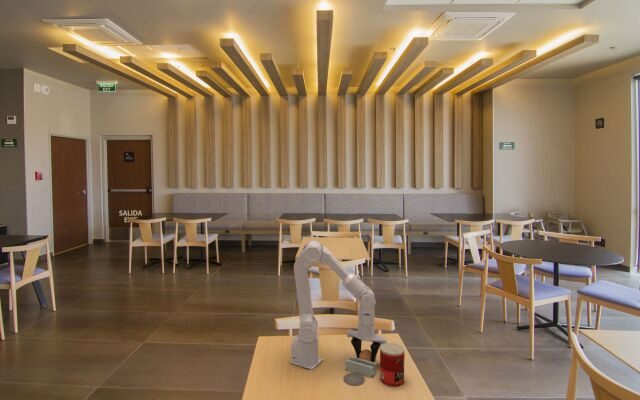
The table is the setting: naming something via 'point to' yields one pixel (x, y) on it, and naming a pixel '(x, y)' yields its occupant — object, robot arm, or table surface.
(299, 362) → the robot arm
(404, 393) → the table surface
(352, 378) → the coaster
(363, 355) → the ball
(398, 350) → the canned food
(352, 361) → the acrylic fence
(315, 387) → the table surface
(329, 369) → the table surface
